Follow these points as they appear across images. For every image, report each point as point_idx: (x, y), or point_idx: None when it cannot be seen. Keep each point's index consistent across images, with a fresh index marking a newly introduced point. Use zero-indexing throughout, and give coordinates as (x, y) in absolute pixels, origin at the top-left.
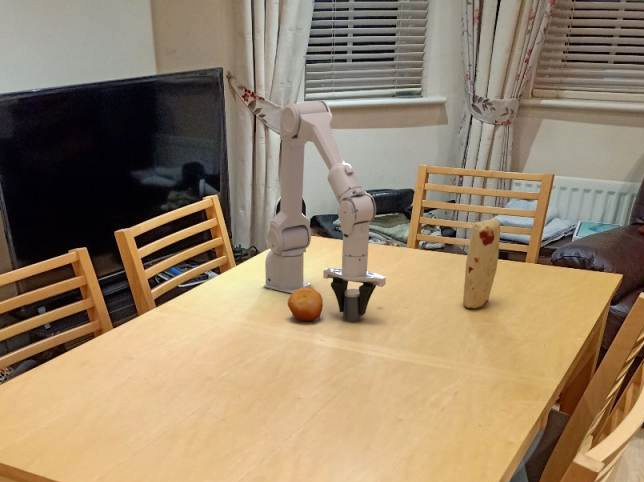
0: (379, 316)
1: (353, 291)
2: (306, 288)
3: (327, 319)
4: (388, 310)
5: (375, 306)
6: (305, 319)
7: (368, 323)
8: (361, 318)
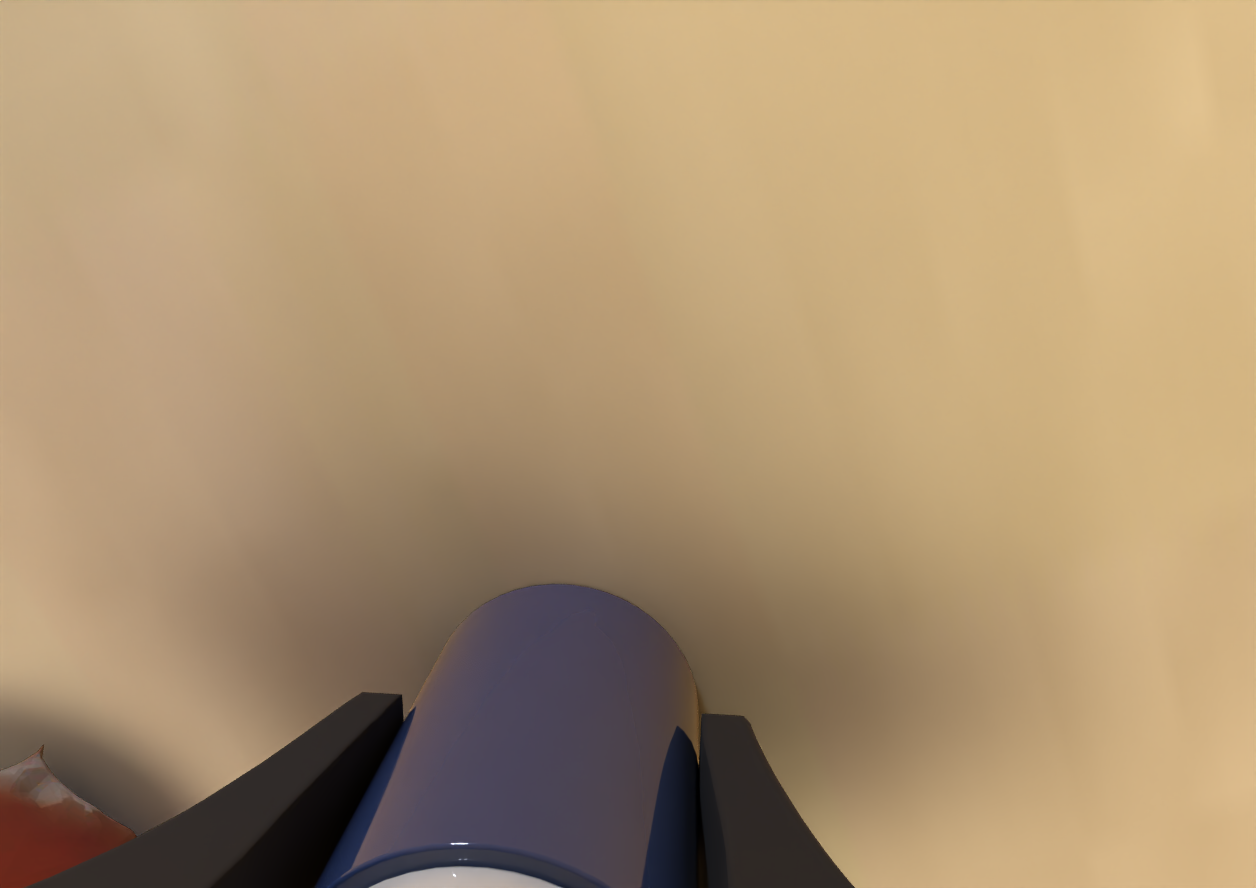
0: (911, 468)
1: None
2: None
3: None
4: (989, 135)
5: (704, 31)
6: None
7: (834, 771)
8: (695, 697)
